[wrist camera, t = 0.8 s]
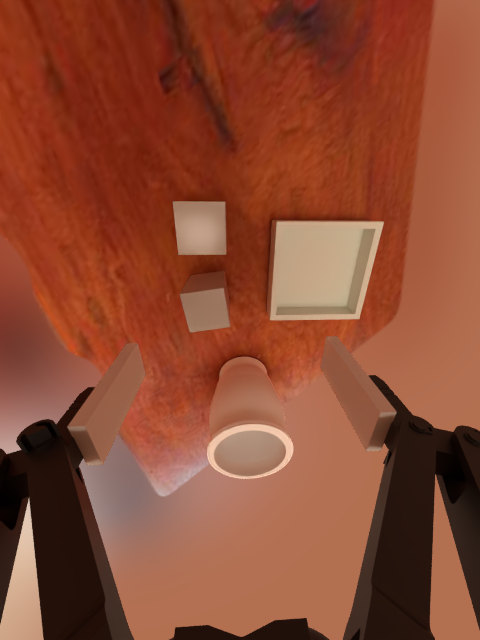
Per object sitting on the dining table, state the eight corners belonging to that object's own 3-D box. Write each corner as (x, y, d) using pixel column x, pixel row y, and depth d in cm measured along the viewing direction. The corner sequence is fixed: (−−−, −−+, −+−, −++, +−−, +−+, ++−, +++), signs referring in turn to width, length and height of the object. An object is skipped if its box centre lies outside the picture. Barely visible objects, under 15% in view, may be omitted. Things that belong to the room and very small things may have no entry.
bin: (271, 219, 31) (276, 221, 28) (368, 220, 31) (383, 221, 28) (266, 310, 36) (270, 320, 33) (348, 309, 37) (359, 318, 34)
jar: (274, 349, 40) (297, 422, 26) (271, 395, 44) (289, 478, 31) (211, 351, 39) (202, 427, 26) (215, 397, 44) (209, 482, 30)
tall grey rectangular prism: (186, 202, 29) (172, 201, 22) (225, 202, 30) (225, 201, 23) (189, 243, 32) (178, 254, 24) (226, 243, 32) (226, 254, 25)
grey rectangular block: (190, 275, 34) (179, 294, 26) (224, 270, 33) (223, 287, 26) (197, 307, 36) (189, 332, 29) (229, 302, 36) (230, 326, 28)
